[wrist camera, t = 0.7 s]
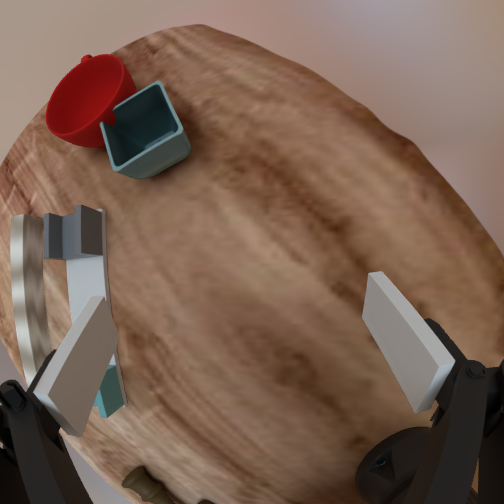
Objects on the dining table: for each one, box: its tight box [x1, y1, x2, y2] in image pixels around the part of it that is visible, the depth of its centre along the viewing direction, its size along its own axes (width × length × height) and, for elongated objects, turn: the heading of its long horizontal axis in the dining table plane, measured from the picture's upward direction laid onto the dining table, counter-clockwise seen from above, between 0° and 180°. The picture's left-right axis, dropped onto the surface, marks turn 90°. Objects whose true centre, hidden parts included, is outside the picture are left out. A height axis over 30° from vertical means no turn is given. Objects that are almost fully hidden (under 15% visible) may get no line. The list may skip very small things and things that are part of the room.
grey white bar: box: [11, 214, 52, 388], centre depth 35 cm, size 30×4×5 cm, turn 5°
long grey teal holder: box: [44, 205, 128, 418], centre depth 33 cm, size 28×7×6 cm, turn 6°
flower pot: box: [100, 81, 191, 179], centre depth 32 cm, size 9×9×9 cm
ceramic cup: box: [46, 54, 137, 147], centre depth 33 cm, size 13×17×10 cm
